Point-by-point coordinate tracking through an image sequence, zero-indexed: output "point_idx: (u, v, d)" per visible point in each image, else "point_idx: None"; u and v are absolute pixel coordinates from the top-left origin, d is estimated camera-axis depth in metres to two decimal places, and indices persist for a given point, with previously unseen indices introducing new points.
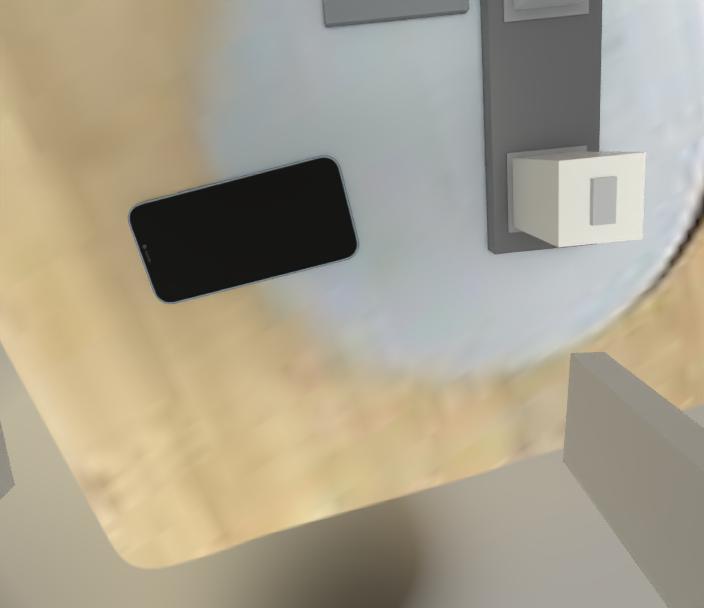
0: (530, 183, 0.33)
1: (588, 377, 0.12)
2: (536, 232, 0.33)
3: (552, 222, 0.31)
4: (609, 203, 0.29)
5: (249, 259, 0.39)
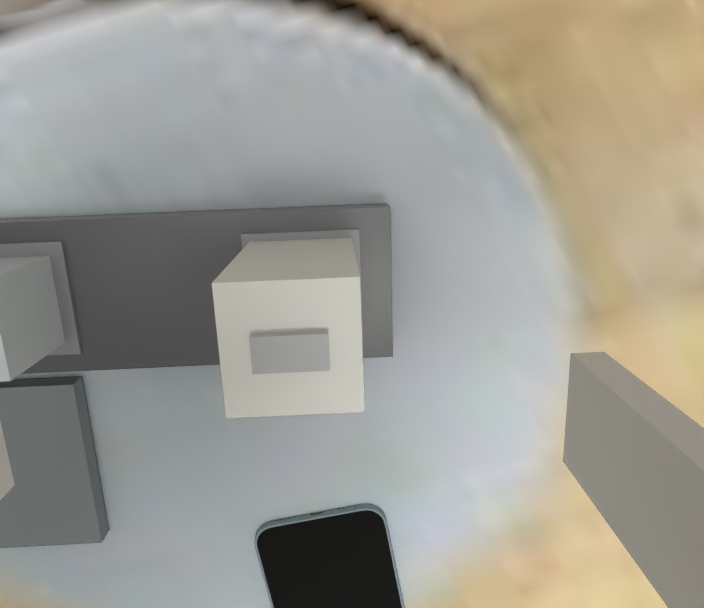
0: None
1: (588, 377, 0.12)
2: None
3: None
4: (293, 346, 0.17)
5: None
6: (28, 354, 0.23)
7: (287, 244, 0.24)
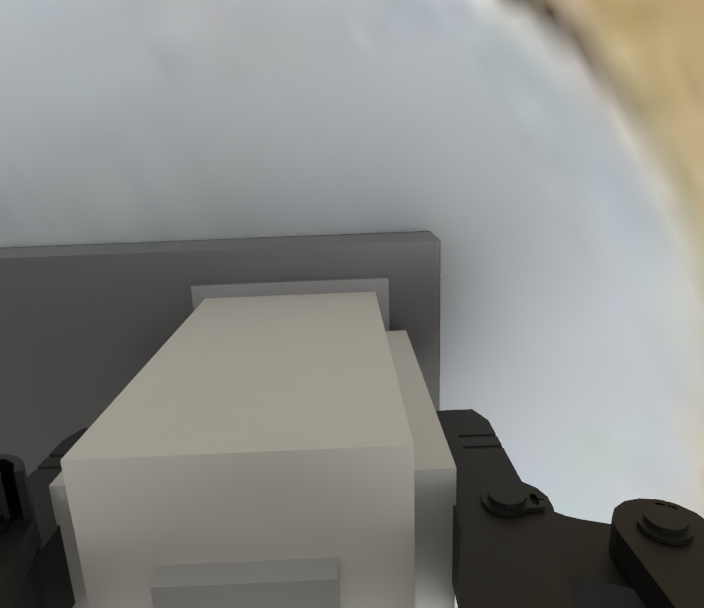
0: None
1: None
2: None
3: None
4: (256, 605, 0.07)
5: None
6: None
7: (266, 307, 0.14)
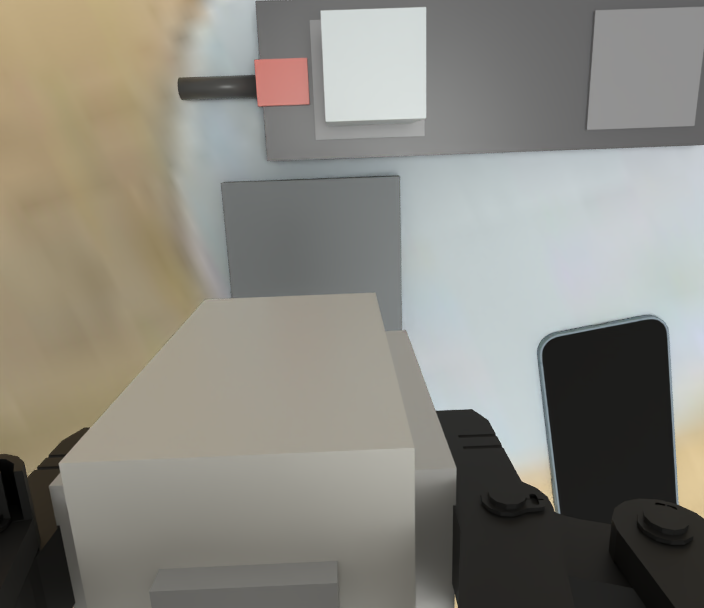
0: None
1: None
2: None
3: None
4: None
5: (645, 442, 0.33)
6: None
7: (266, 308, 0.14)
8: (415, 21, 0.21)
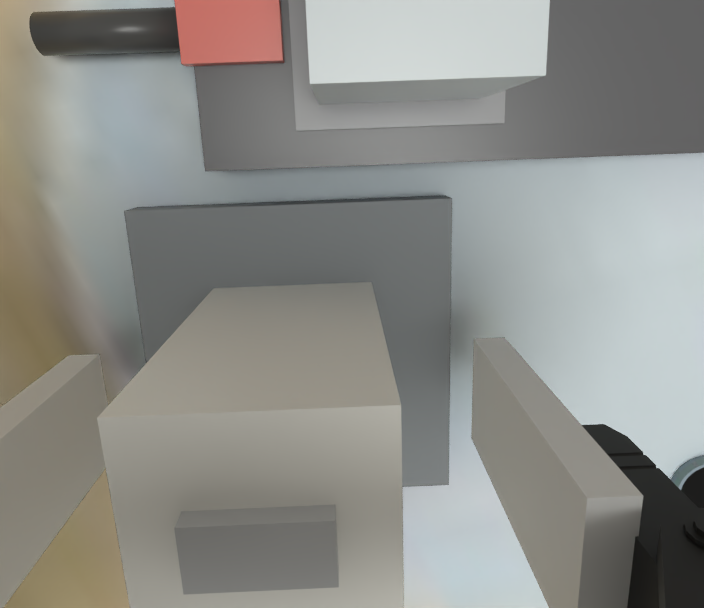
0: None
1: (483, 359, 0.13)
2: None
3: None
4: (265, 544, 0.08)
5: None
6: None
7: (270, 296, 0.15)
8: None
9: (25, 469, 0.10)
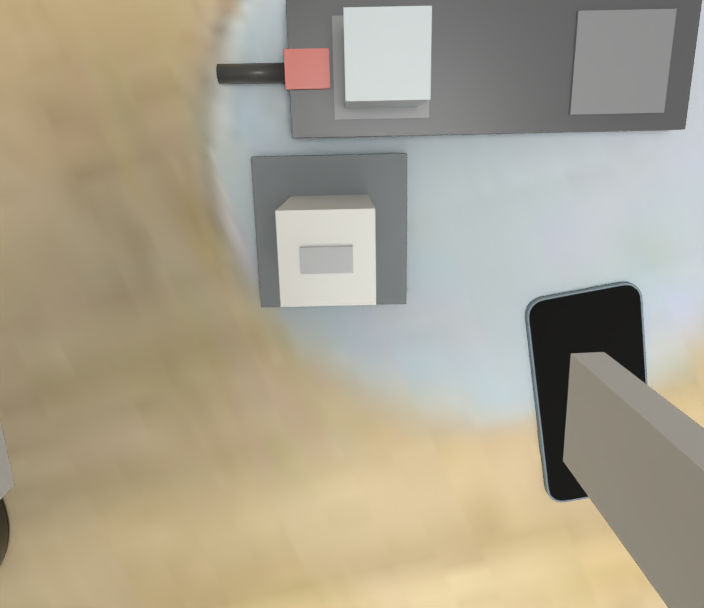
0: None
1: (588, 377, 0.12)
2: None
3: None
4: (329, 255, 0.25)
5: None
6: None
7: (320, 197, 0.32)
8: (423, 17, 0.25)
9: None
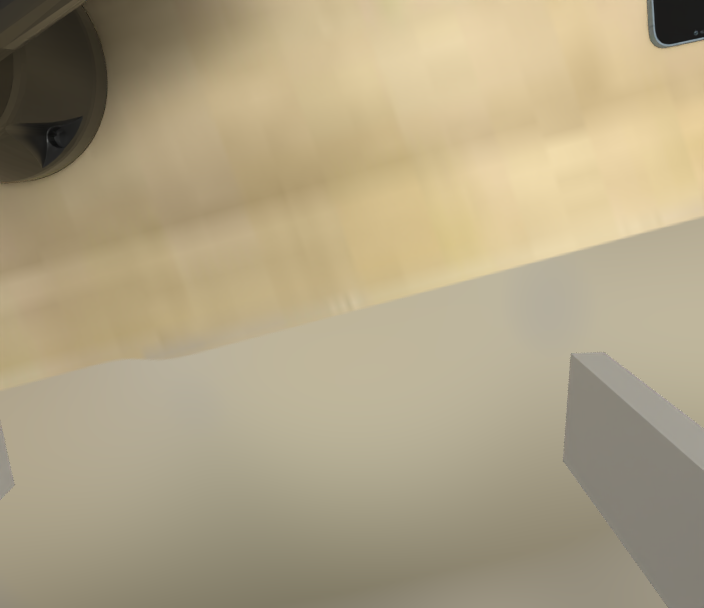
0: None
1: (588, 377, 0.12)
2: None
3: None
4: None
5: None
6: None
7: None
8: None
9: None
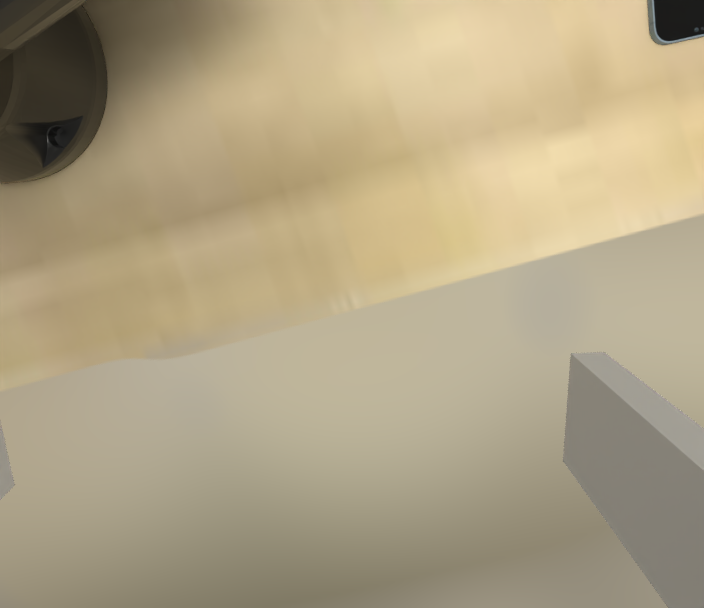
0: None
1: (588, 377, 0.12)
2: None
3: None
4: None
5: None
6: None
7: None
8: None
9: None
